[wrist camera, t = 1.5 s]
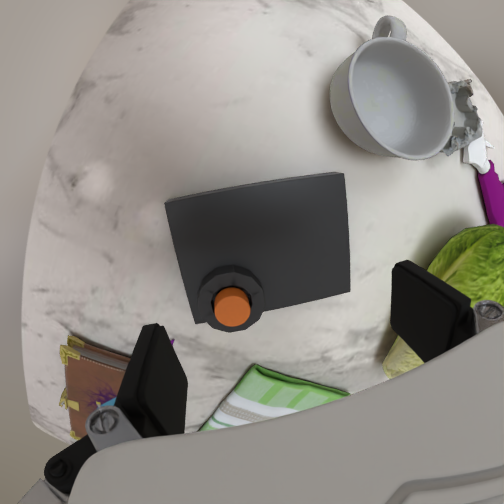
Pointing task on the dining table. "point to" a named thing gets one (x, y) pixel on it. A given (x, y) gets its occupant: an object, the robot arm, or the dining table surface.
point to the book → (89, 381)
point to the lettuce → (460, 280)
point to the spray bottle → (487, 178)
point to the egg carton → (462, 118)
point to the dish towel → (268, 398)
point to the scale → (263, 244)
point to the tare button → (232, 307)
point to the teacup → (393, 96)
